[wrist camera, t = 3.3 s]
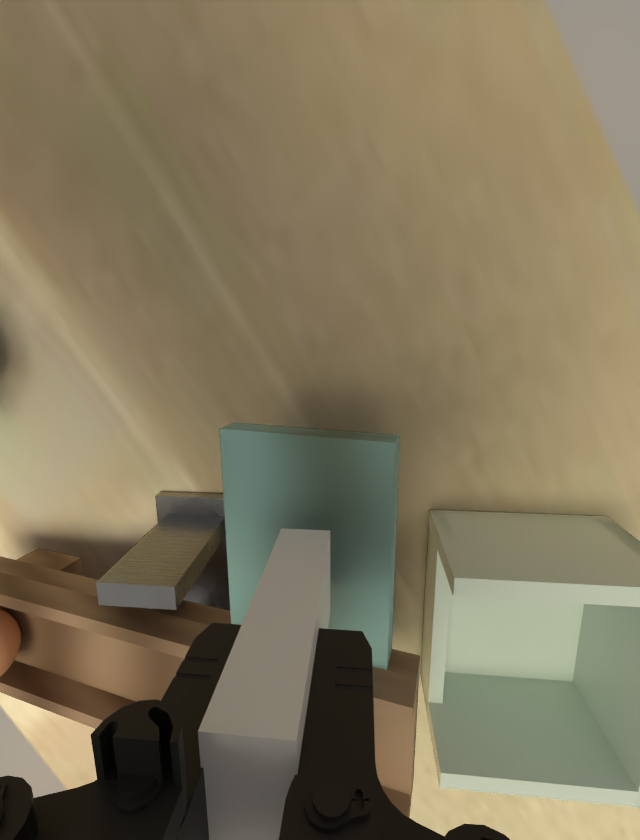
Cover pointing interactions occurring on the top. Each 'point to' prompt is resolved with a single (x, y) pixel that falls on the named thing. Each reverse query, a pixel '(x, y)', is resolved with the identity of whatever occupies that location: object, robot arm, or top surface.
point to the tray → (533, 655)
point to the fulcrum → (174, 558)
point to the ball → (8, 640)
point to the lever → (233, 588)
